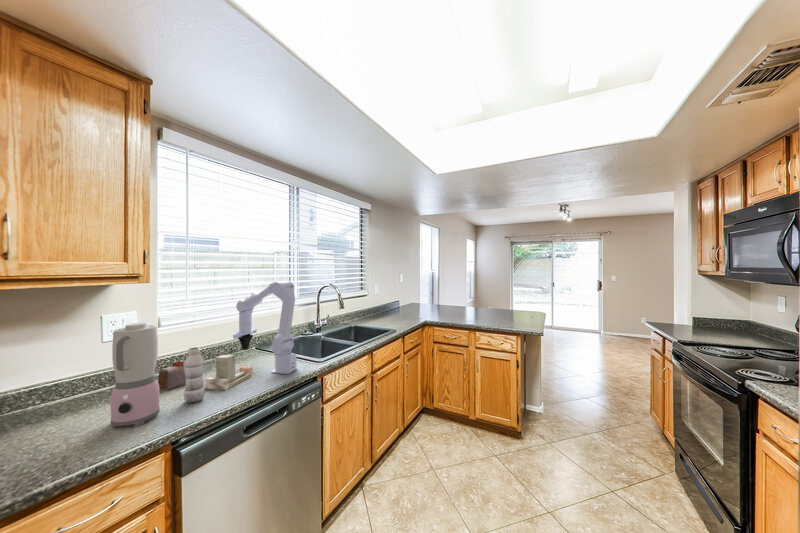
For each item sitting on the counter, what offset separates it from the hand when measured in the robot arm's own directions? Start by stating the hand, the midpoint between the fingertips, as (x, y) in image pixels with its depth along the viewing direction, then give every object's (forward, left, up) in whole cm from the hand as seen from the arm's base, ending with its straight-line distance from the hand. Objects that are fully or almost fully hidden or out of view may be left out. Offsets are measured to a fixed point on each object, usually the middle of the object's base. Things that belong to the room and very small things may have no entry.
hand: (245, 349), depth 152 cm
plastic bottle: (-10, +39, -9) cm, 41 cm away
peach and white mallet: (-9, +15, -9) cm, 19 cm away
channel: (-9, +20, -9) cm, 23 cm away
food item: (+12, +26, -9) cm, 30 cm away
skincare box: (-8, +22, -9) cm, 25 cm away
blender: (-4, +56, -9) cm, 57 cm away
